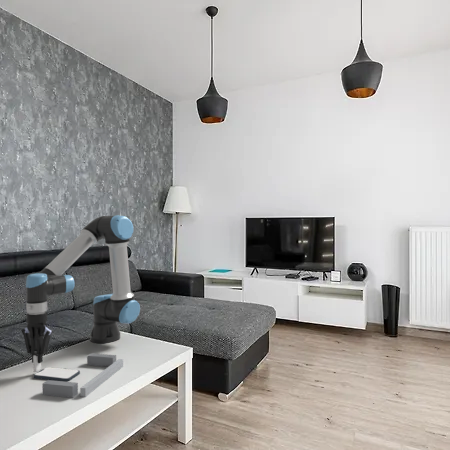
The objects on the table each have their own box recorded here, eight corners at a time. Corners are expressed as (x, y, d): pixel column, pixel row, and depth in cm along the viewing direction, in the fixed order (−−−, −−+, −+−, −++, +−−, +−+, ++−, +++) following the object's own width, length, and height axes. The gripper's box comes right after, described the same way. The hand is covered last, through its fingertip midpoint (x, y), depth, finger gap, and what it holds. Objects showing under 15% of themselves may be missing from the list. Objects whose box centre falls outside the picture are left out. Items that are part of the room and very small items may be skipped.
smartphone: (81, 374, 152) (46, 370, 155) (81, 370, 152) (46, 366, 155) (67, 383, 143) (31, 379, 146) (67, 379, 143) (31, 375, 146)
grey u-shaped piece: (91, 362, 163) (91, 353, 163) (124, 365, 159) (124, 355, 159) (42, 394, 132) (42, 383, 132) (83, 398, 129) (82, 387, 129)
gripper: (16, 313, 148) (16, 373, 148) (44, 315, 145) (45, 375, 145) (29, 309, 155) (30, 365, 156) (57, 311, 153) (57, 368, 153)
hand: (37, 370), depth 150 cm, fingers closed
